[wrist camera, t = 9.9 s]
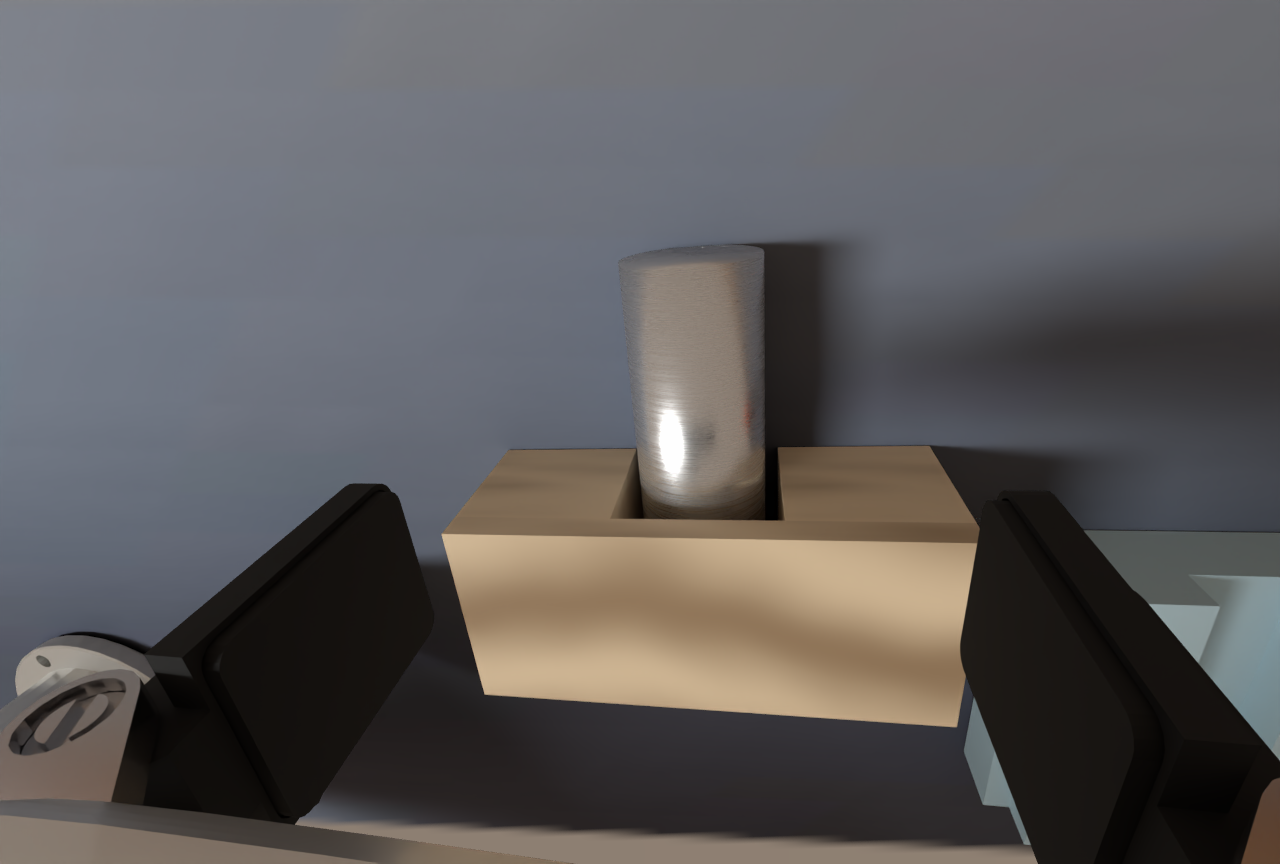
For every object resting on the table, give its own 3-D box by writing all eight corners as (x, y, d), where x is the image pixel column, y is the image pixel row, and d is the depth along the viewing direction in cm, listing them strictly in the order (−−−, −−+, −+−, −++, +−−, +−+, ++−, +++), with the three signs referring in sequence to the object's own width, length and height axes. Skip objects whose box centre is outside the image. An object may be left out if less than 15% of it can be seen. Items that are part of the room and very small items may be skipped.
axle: (763, 601, 26) (768, 682, 22) (662, 598, 27) (649, 676, 23) (761, 241, 20) (767, 263, 16) (630, 250, 21) (604, 273, 17)
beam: (911, 600, 24) (956, 727, 19) (536, 587, 27) (484, 694, 22) (929, 445, 22) (989, 543, 16) (508, 450, 25) (441, 534, 19)
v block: (1274, 774, 25) (1361, 878, 22) (963, 751, 27) (996, 841, 24) (1395, 534, 20) (1533, 616, 17) (1005, 529, 22) (1054, 600, 19)
